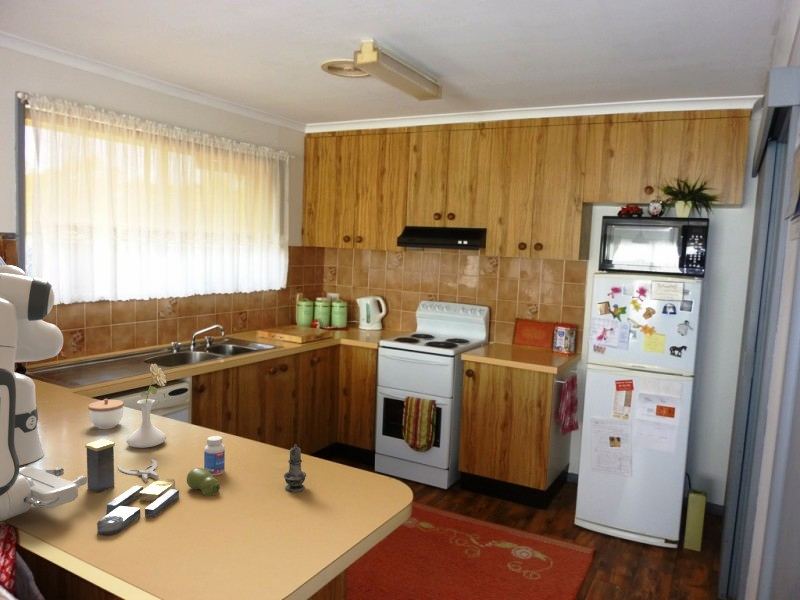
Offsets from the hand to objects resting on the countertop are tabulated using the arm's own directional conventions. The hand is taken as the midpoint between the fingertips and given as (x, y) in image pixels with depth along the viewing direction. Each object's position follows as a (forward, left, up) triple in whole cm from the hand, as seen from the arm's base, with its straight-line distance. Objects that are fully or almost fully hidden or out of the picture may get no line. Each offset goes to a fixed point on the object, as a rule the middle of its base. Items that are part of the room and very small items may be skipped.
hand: (73, 474), depth 144 cm
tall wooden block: (+3, +7, -6) cm, 9 cm away
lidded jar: (-27, +51, -6) cm, 58 cm away
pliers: (+7, +18, -7) cm, 21 cm away
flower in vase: (-4, +39, -6) cm, 39 cm away
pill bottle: (+26, +23, -6) cm, 35 cm away
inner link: (+19, +7, -6) cm, 21 cm away
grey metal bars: (+19, -4, -6) cm, 20 cm away
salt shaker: (+51, +18, -6) cm, 54 cm away
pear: (+28, +11, -6) cm, 31 cm away
